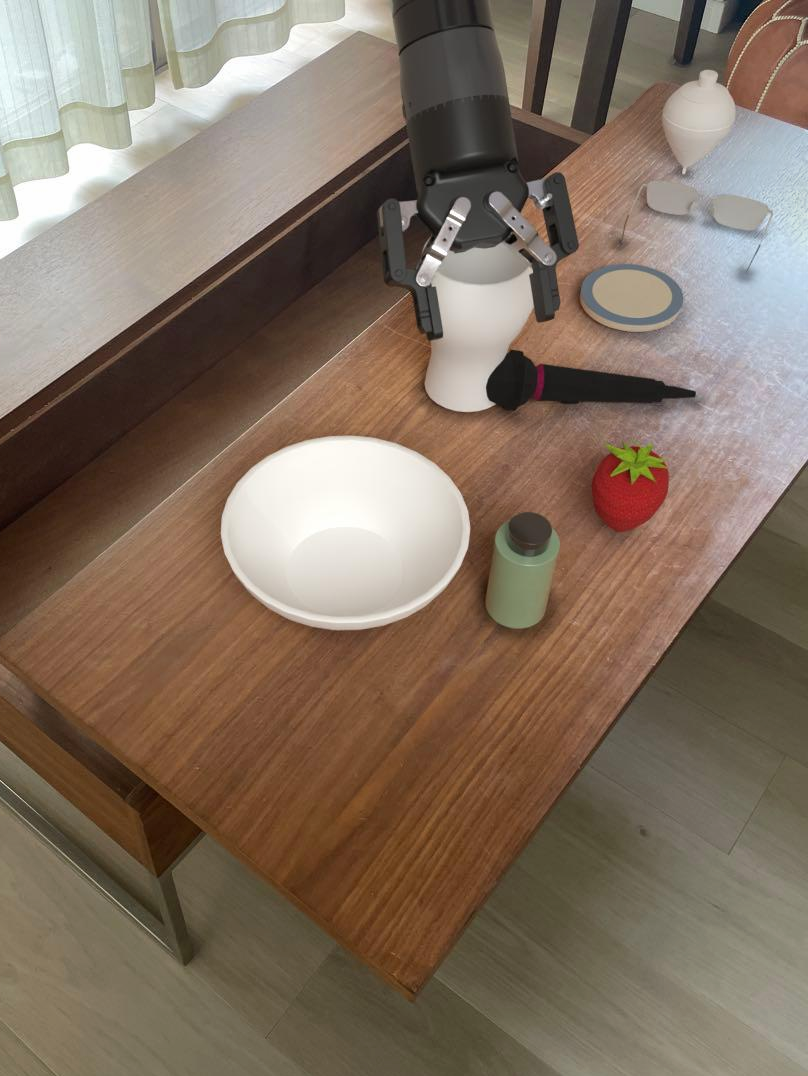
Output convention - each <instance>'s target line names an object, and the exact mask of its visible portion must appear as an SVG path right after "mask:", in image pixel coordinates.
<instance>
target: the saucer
mask: <svg viewBox="0 0 808 1076" xmlns="http://www.w3.org/2000/svg"><path fill="white" fill-rule="evenodd" d="M580 287H581V288H580V291H579V303H580V305H581V307H582V309H583V310H584V312H585V313H586V314H587V315H588V316H589V317H590V318H591V319H593V320H594V321H596V322H597V323H599V324H601V325H603V326H605V327H608V328H611V329H614V330H617V331H623V332H630V333H643V332H644V333H645V332H651V331H655V330H659V329H663V328H665V327H667V326H668V325H670V324H672V322H674V321H675V320H676V319H677V318H678V317H679V315H680V313H681V311H682V308H683V304H684V294H683V290H682V288H681V287H680V285H679V284H678V283H677V282H676V280H674V279H673V278H672V277H671V276H669V275H668V274H666V273H664V272H663V271H660V270H658V269H655V268H653V267H649V266H645V265H641V264H634V263H617V264H610V265H606V266H602V267H600V268H598V269H595V270H593V271H592V272H590V273H589V274H588V275H587V276H586V277H585V278H584V280H583V281H582V284H581V286H580Z"/></svg>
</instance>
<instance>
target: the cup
mask: <svg viewBox="0 0 808 1076" xmlns="http://www.w3.org/2000/svg"><path fill="white" fill-rule="evenodd" d="M429 239H430V237H429V238H428V239H427V240H426V242H425V244H424V245H423V248H422V252H423V250H424V248H425V246H426V244H427V242H428V241H429ZM422 252H421V253H422ZM531 273H533V269H532V268H531V267H530V266H529V265H528V264H527V263H526V262H525V261H524V260H523V259H522V258H521V257H520V256H518V255H517V254H516V253H513V252H511V251H510V250H509V249H508V248H507V247H506V246H505V245H504V244H503V243H502V242H501V243H500V244H498V245H497V246H495V247H492V248H486V249H483V248H472V249H470V250H468V251H465V252H461V253H454V252H453V251H450V250H449V251H448V253H447V255H446V256H445V258H444V259H443V261H442V262H441V264H440V266H439V268H438V270H437V272H436V274H435V276H434V278H433V280H432V282H431V284H432V287H435V286H436V291H437V297H438V303H439V309H440V315H441V321H442V328H443V338H441V339H438V340H433V341H430V348H431V349H430V351H431V354H430V358H429V361H428V364H427V369H426V374H425V378H424V383H423V384H424V388H425V392H426V393H427V395H428V396H429V398H430V399H431V400H432V401H433V402H434V403H436V404H437V405H439V406H441V407H443V408H445V409H447V410H451V411H454V412H461V413H462V412H463V413H472V412H481V411H484V410H487V409H489V408H491V407H493V406H496V404H495V403H493V402H491V401H489V399H488V397H487V392H486V384H487V381H488V378H489V376H490V375H491V373H492V372H493V371H494V370H495V368H496V367H497V366H498V365H499V364H500V363H501V362H502V361H503V360H504V358H505V356H506V354H507V353H508V352H509V349H510V345H511V344H512V343H513V341H514V340H515V339H516V338H517V337H518V336H519V335H520V333H521V332H522V330H523V329H524V327H525V325H526V323H527V322H528V319H529V317H530V315H531V314H532V312H533V310H534V304H533V297H532V291H531V284H530V278H529V274H531Z"/></svg>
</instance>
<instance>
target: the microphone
mask: <svg viewBox="0 0 808 1076" xmlns="http://www.w3.org/2000/svg"><path fill="white" fill-rule="evenodd" d="M486 392H487V397H488V399H489V401H491V402H493V403H495V405H497V406H501V407H502V409H503V410H505V411H509V412H510V411H513V412H514V411H517V409H518V408H519V407H521V406H523V405H526V404H527V403H528V402H529V401H530V400H531V399H532V398H533V399H534V400H535V401H538V402H559V403H561V404H563V405H577V404H579V403H580V402H581V403H582V402H583V403H622V404H623V403H626V404H627V403H629V404H630V403H631V404H653V403H662V401H663V400H664V399H665V400H667V399H669V400H672V399H689V398H691V399H693V398H696V397H697V391H696V390H693V389H688V388H683V387H680V386H674V385H666V384H665V382H664V381H663V380H657V379H655V378H650V377H642V376H634V375H628V374H627V375H626V374H620V373H613V372H605V371H598V370H597V371H596V370H589V369H583V368H582V369H581V368H574V367H567V366H561V365H560V366H559V365H552V364H547V363H538V364H537V365H535V363H534V362H533V360H532V359H531V358H529V357H527V356H526V355H525V353H524V351H522V350H518V349H510V348H509V350H508V352H507V354H506V356H505V358H504V360H503V361H502V362H501V363H500V364H499V365H498V366H497V367H496V368H495V370H494V371H493V372H492V373H491V375H490V376H489V378H488V381H487V384H486Z"/></svg>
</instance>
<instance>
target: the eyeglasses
mask: <svg viewBox="0 0 808 1076" xmlns="http://www.w3.org/2000/svg"><path fill="white" fill-rule="evenodd" d="M643 187H646V202H647V205H648V207H649V208H650V209H651V210H654V211H656V212H659V213H663V214H668V215H674V216H686V215H688V214H689V213H690V212H693V211H695V209H696V208H697V206H698V204H699V203H698V202H699V199H700V198H706V199H711V200H712V205H710V207H709V209H710V215H711V216H712V217H714V220H715V221H716V222H717V223H718V224H720V225H722V226H724V227H728V228H730V229H731V228H732V229H735V230H740V231H745V232H746V231H748V232H749V231H750V232H751V231H755V230H757V229H758V228H759V227H760V226H761V225H762V224H763V222H764V221H765V219H766V217H767V215H768V214H770V216H769V219H768V222H767V224H766V227H765V229H764V232H763V235H762V238H761V240H760V242H759V244H758V246H757V248H756V251H755V253H754V255H753V256H752V259H751V260H750V263H749V265H748V267H747V269H746V272H745V274H747V273H748V271H749V269H750V267H751V265H752V263H753V261H754V259H755V257H756V256H757V254H758V253H759V250H760V248H761V245H762V242H763V240H764V238H765V235H766V232H767V230H768V228H769V225H770V223H771V221H772V218H773V216H774V211H773V210H771V209H769V206H768V205H767V204H766V203H764V202H761V201H758V200H756V199H752V198H748V197H746V196H745V197H744V196H740V195H735V194H726V193H725V194H718V195H716V196H715V197H712V196H707V195H703V194H701V195H700V191H698V190H697V189H696V188H694V187H692V186H690V185H687V184H683V183H678V182H673V181H667V180H656V179H653V180H650V181H648V183H642V185H641V186H640V187H639V190H638V192H637V195H636V196H635V199H634V202H633V204H632V205H631V208H630V210H629V213H628V214H627V216H626V219H625V221H624V225H623V230H622V235H621V240H620V245H622V244H623V240H624V236H625V230H626V225H627V222H628V220H629V218H630V215H631V212H632V210H633V208H634V206H635V204H636V202H637V200H638V198H639V195H640V194H641V192H642V190H643Z"/></svg>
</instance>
